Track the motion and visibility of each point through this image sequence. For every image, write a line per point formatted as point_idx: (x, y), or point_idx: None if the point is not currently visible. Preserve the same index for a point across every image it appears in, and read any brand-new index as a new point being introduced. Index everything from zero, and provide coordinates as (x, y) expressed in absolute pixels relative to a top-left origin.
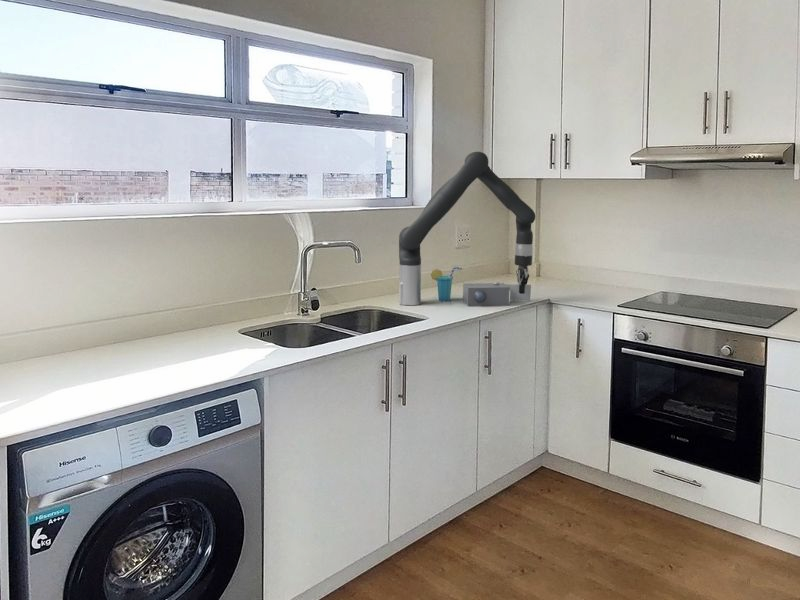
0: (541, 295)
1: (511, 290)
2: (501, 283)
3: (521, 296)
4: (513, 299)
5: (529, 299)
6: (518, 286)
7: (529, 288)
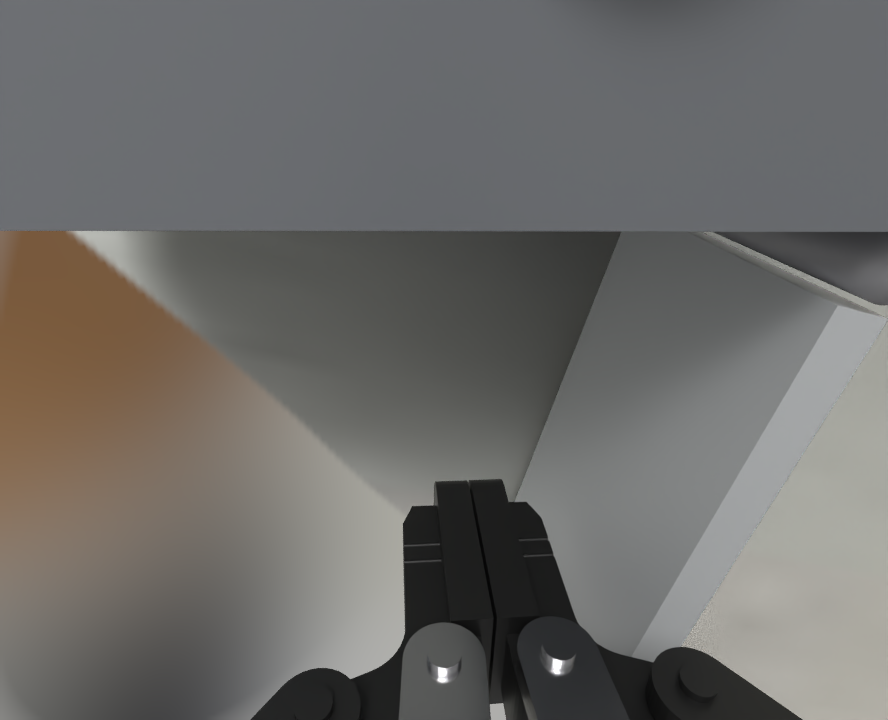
0: (832, 691)
1: (664, 378)
2: (861, 114)
3: (552, 479)
4: (582, 339)
5: None
6: (640, 570)
7: None
